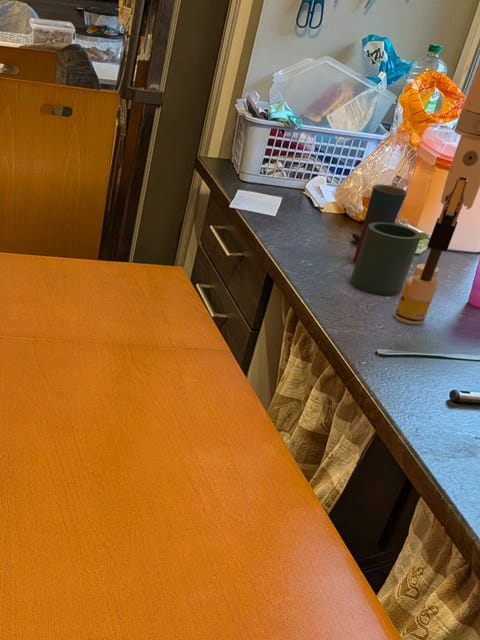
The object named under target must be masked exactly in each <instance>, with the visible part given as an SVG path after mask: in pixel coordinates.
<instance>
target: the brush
mask: <svg viewBox="0 0 480 640" xmlns="http://www.w3.org/2000/svg"><path fill="white" fill-rule="evenodd" d="M442 219H443V218H442ZM453 220H454V219H453ZM441 222H442V221H441ZM451 225H452V224H451ZM442 252H443V251H442V250H437V249H432V248H430V251H429V253H428V256H427V259H426V261H425V263H424V264H425V267H424V269H423V272H422V275H417V276H414V275H413V276H414V277H413V280H412V283H411V286H410V289H409V291H408V296H409V297H410V298H413V299H415V300H420V301H429V300H431V298H432V295H433V293H434V290H435V288H436V289H437V287H436V285H437V286H438V280H437V278H435V279H434V278H432V277H433V274H434V271H435V269H436V268H437V266H438V263H439V260H440V258H441V256H442ZM435 291H436V290H435ZM434 294H435V293H434ZM433 296H434V295H433ZM432 299H433V298H432ZM431 301H432V300H431Z"/></svg>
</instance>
